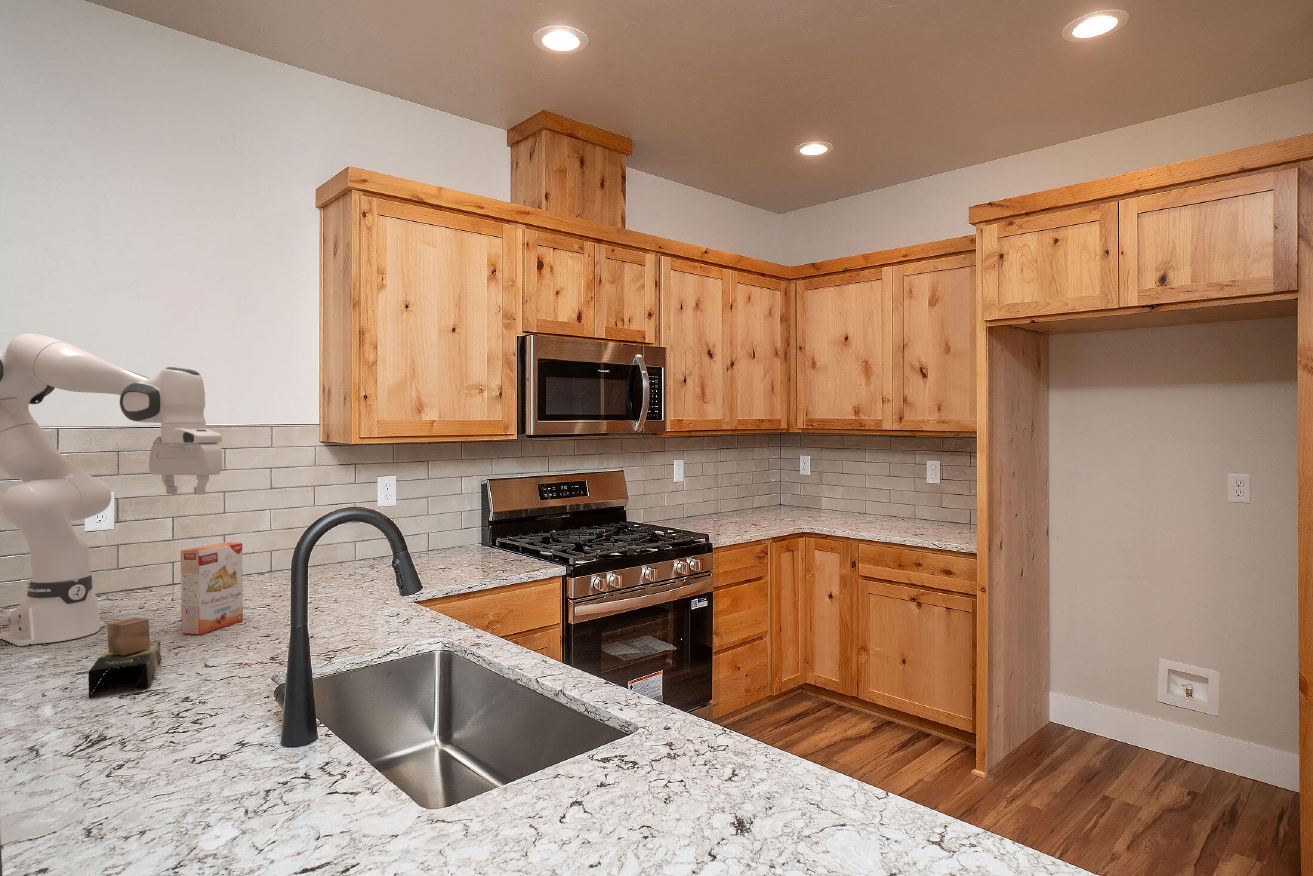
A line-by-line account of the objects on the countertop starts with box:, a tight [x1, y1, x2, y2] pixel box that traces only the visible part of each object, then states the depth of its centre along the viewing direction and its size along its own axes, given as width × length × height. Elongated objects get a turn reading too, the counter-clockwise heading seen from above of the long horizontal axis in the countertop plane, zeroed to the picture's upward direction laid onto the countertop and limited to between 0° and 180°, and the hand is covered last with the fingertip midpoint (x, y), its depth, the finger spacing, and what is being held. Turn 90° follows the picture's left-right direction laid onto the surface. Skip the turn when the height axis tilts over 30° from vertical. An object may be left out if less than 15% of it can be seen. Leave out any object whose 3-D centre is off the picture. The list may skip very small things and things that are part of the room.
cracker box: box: [180, 541, 244, 636], centre depth 183 cm, size 14×6×21 cm, turn 168°
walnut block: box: [106, 616, 151, 655], centre depth 146 cm, size 5×5×6 cm
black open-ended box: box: [87, 639, 163, 699], centre depth 145 cm, size 20×10×6 cm, turn 29°
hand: (185, 494), depth 170 cm, fingers open, 8 cm apart
